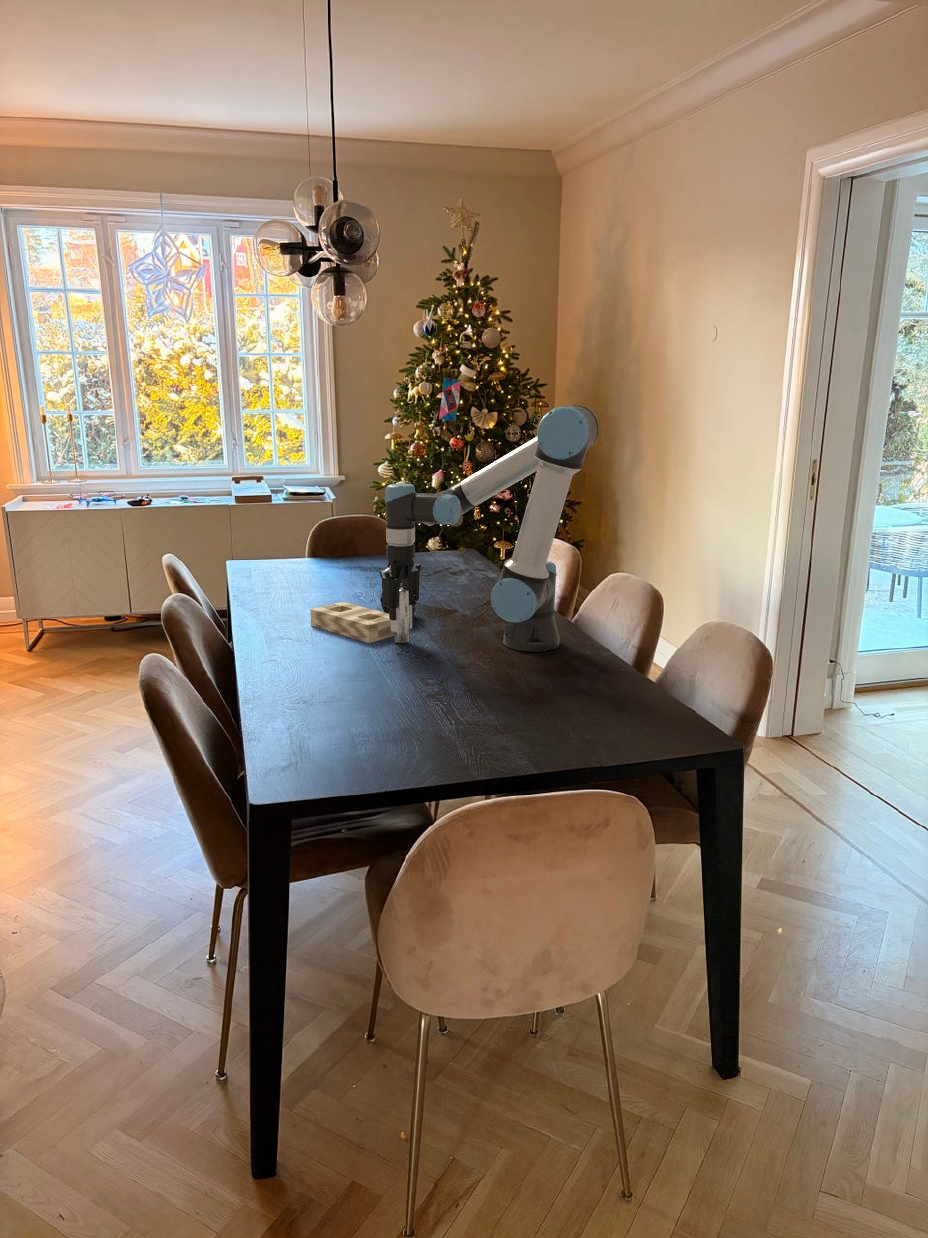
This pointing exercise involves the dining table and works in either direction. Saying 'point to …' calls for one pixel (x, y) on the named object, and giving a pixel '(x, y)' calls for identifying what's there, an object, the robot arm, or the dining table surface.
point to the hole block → (352, 621)
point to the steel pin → (403, 617)
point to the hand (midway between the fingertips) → (401, 629)
